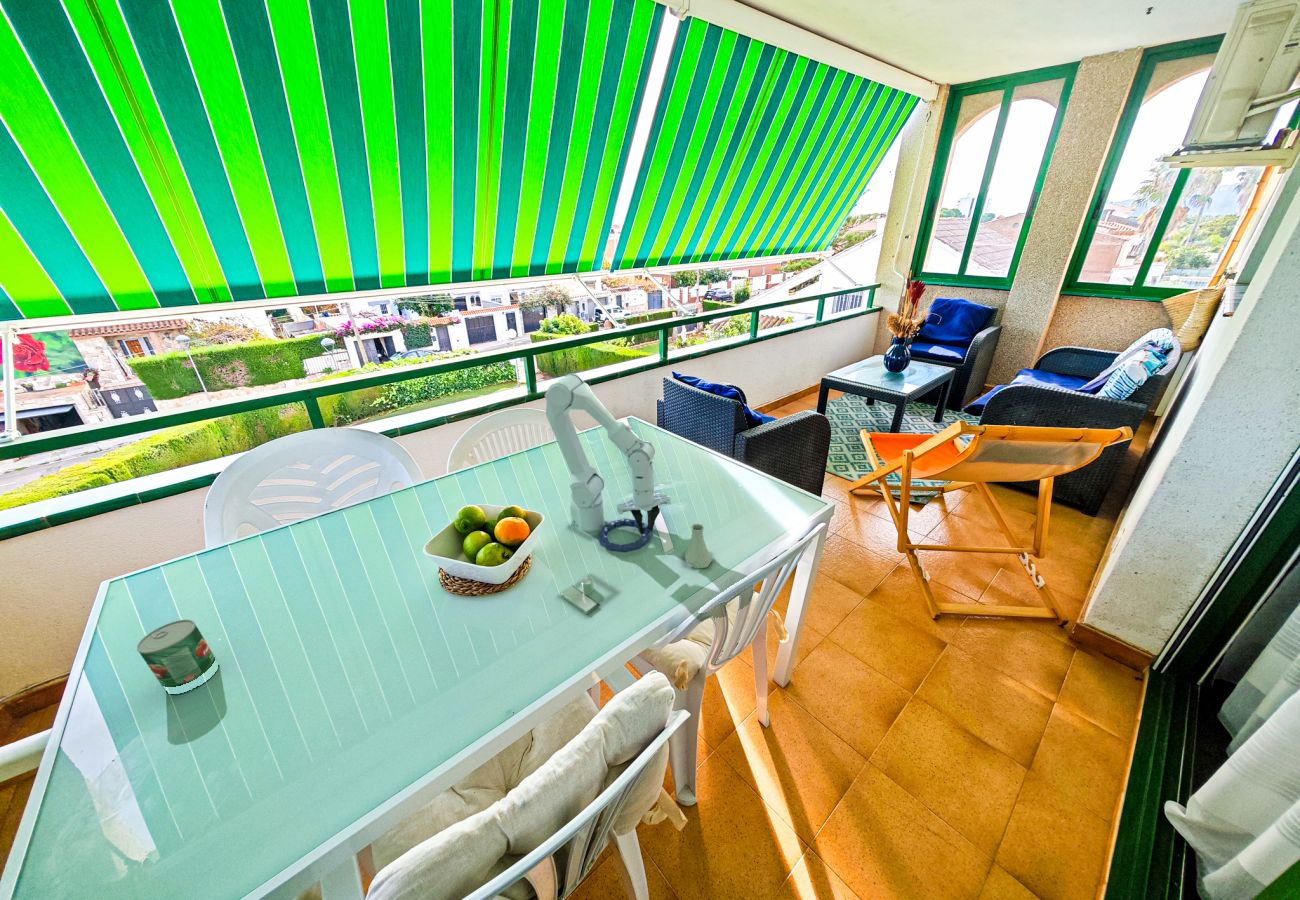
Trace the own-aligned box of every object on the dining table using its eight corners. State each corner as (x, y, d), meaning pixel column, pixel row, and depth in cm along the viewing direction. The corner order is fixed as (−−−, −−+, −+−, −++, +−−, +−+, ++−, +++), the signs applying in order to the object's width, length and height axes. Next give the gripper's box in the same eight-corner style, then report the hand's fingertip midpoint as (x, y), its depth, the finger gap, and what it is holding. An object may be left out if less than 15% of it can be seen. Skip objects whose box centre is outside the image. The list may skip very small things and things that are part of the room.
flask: (710, 570, 112) (711, 536, 108) (681, 567, 114) (680, 534, 110) (712, 552, 119) (713, 520, 115) (685, 550, 120) (684, 517, 116)
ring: (587, 541, 125) (587, 534, 124) (624, 518, 135) (624, 511, 134) (625, 562, 116) (624, 554, 115) (661, 536, 126) (661, 529, 125)
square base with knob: (561, 596, 106) (559, 582, 104) (590, 576, 112) (588, 562, 110) (586, 615, 100) (585, 600, 99) (616, 592, 106) (614, 578, 105)
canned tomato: (229, 663, 92) (205, 622, 87) (185, 698, 85) (157, 655, 80) (199, 657, 94) (175, 616, 89) (154, 691, 87) (124, 648, 82)
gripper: (620, 499, 116) (623, 543, 121) (674, 488, 120) (674, 532, 125) (613, 486, 122) (617, 529, 127) (664, 477, 126) (666, 519, 131)
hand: (645, 530), depth 127 cm, fingers closed on ring, 2 cm apart
